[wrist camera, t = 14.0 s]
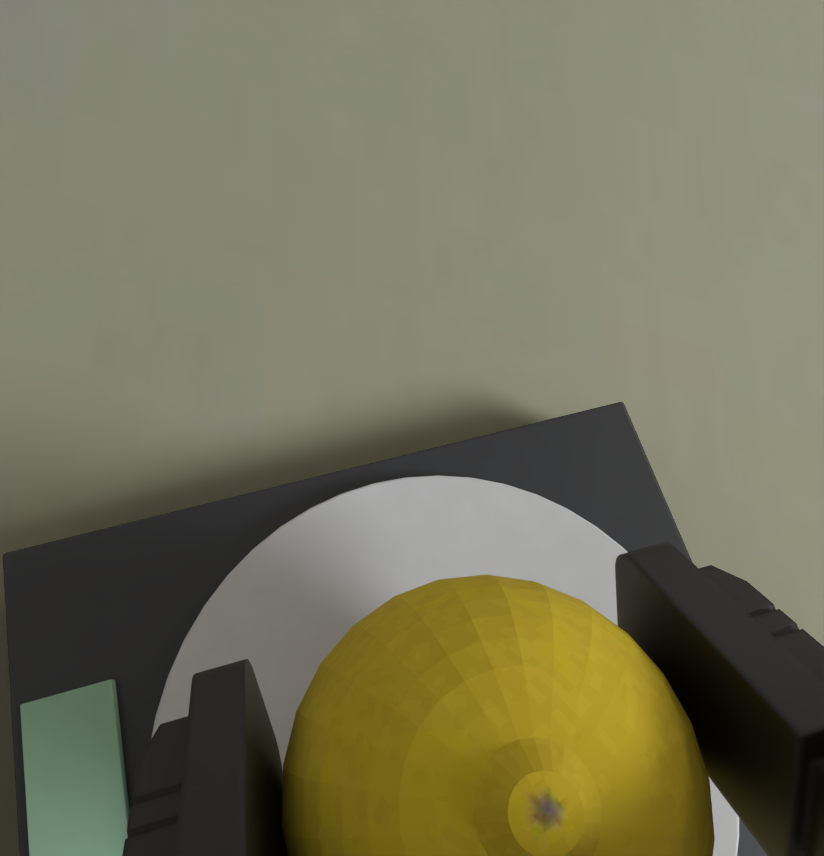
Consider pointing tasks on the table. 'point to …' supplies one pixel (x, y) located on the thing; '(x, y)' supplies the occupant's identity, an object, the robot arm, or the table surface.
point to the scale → (295, 597)
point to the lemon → (492, 735)
